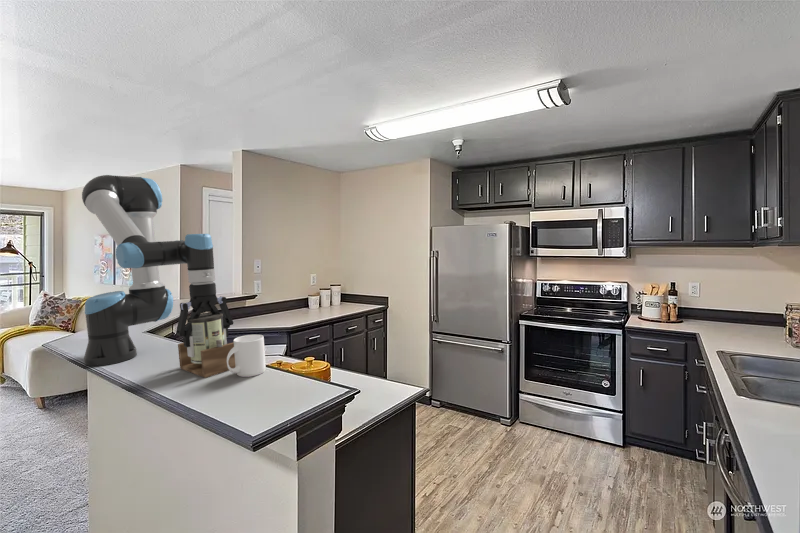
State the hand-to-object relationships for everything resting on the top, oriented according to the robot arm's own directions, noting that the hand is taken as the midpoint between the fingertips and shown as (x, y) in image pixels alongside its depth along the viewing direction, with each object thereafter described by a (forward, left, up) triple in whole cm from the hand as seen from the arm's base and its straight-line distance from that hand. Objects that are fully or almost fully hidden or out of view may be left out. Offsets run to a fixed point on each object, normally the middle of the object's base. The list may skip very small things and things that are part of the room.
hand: (208, 352), depth 130 cm
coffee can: (0, 0, -2) cm, 2 cm away
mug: (+16, +3, -5) cm, 17 cm away
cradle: (0, 0, -5) cm, 5 cm away
